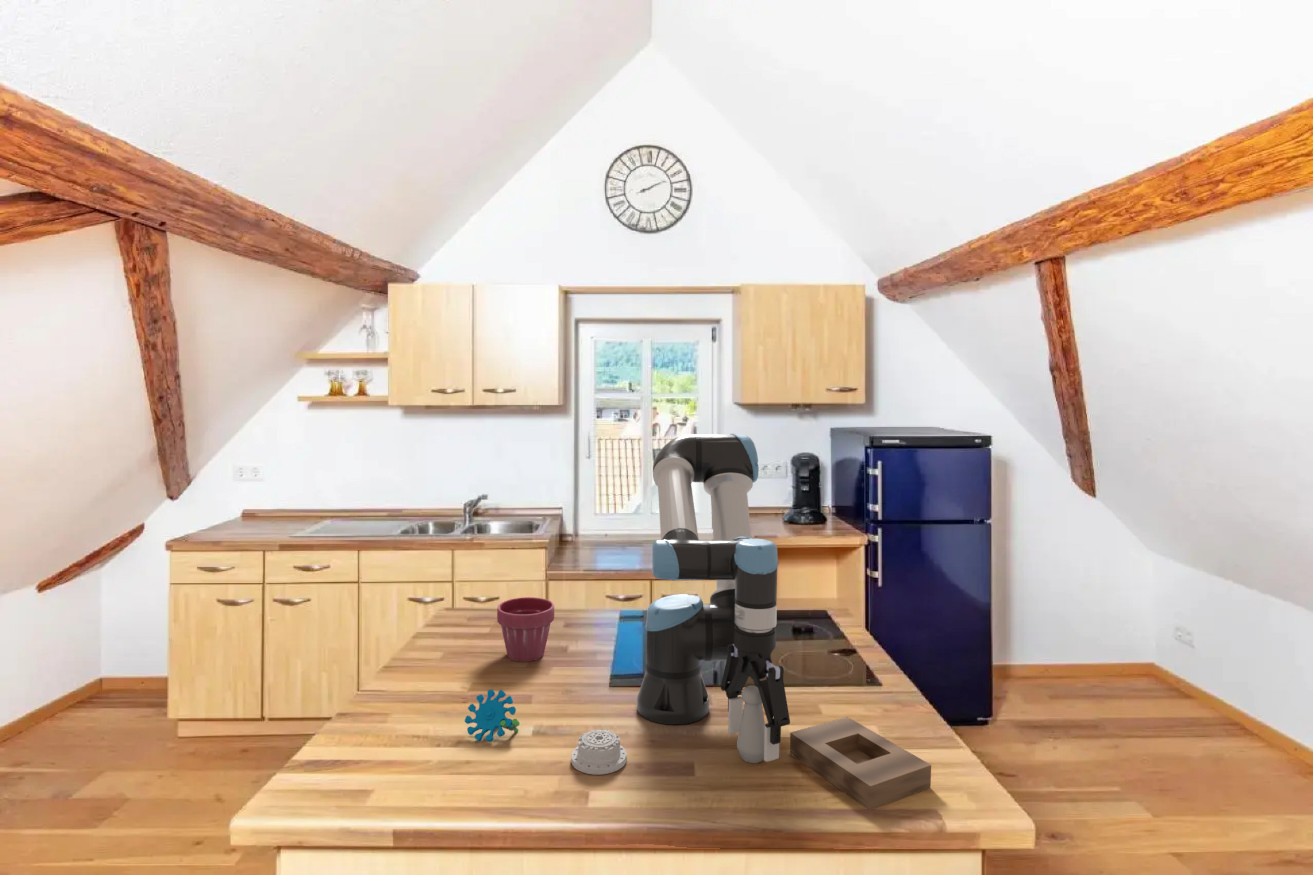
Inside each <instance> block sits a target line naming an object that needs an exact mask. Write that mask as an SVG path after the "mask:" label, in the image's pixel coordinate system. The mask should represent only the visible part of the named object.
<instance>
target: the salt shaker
mask: <svg viewBox="0 0 1313 875" xmlns="http://www.w3.org/2000/svg"><path fill="white" fill-rule="evenodd" d="M741 694H742V695H741V697H742V700H743V703H744V704H743V705H744V706H743V715H742V720H741V725H740V730H739V732H738V736H737V742H736V748H737V751H738V754H739V756H740V758H741V759H742V760H743V761H744V762H745V763H752V764H758V763H760V762H762V761H765V760H764V735H765V724H766V720H765V716H764V714H765V713H764V707H763V704H762V700H761V697H760V693H759V690H758V687H756V686H755V684H753V685H747V686H744V687H743V689H742V693H741Z"/></svg>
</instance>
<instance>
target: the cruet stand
mask: <svg viewBox="0 0 1313 875" xmlns="http://www.w3.org/2000/svg"><path fill="white" fill-rule="evenodd" d="M789 755H790V756H791V755H792V757H793V758H795V759H796V760H798V761H800V762H801V763H802V764H804V765H805V766H806V767H808V768H810V769H811V770H812V771H813V772H815V773H816V774H817V775H819V776H821V777H822V778H823V779H825V780H826V781H828V783H831V784H832V785H833V786H835V787H836V788H838V789H839V790H840V791H842V792H843V793H844V794H846V795H848V796H849V797H850V798H852V799H853V800H854V801H856V802H857V803H859V804H860V805H862V806H863V807H864V808H865V809H867V810H868V811H872V810H874V809H877V808H880V807H882V806H885V805H888V804H890V803H893V802H896V801H899V800H901V799H904V798H906V797H910V796H912V795H915V794H917V793H920V792H923V791H926V790H928V789H930V788H931V787H932V786H931V783H932V782H931V781H932V780H931V778H932V764H930V763H928V762H927V761H925V760H924V759H922V758H920V757H918V756H916V755H915V754H913V753H911V752H909V751H908V750H906V749H904V748H902V747H901V746H899V745H897V744H896V743H894V742H892V741H891V740H889V739H887V738H885V737H884V736H881V735H880V734H878V733H876V732H875V731H873V730H871V729H869V728H867V727H866V726H864V725H862V724H861V723H859V722H858V721H856V720H854V719H853V718H851V717H848V716H845V717H841V718H838V719H835V720H831V721H827V722H826V721H825V722H822V723H821V724H816V725H812V726H809V727H806V728H805V727H804V728H802V729H798V730H796V731H795V730H794V731H791V732H789Z"/></svg>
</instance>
